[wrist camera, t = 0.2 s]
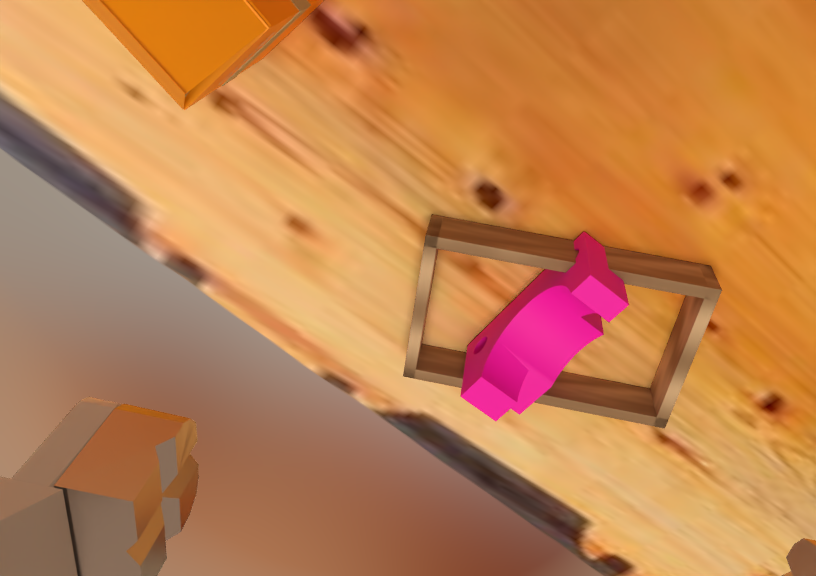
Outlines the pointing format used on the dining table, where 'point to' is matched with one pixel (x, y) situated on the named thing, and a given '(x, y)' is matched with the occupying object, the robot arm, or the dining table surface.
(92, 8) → the orange juice
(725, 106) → the dining table surface
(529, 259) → the wooden rectangular frame
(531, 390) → the toy block
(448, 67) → the dining table surface
